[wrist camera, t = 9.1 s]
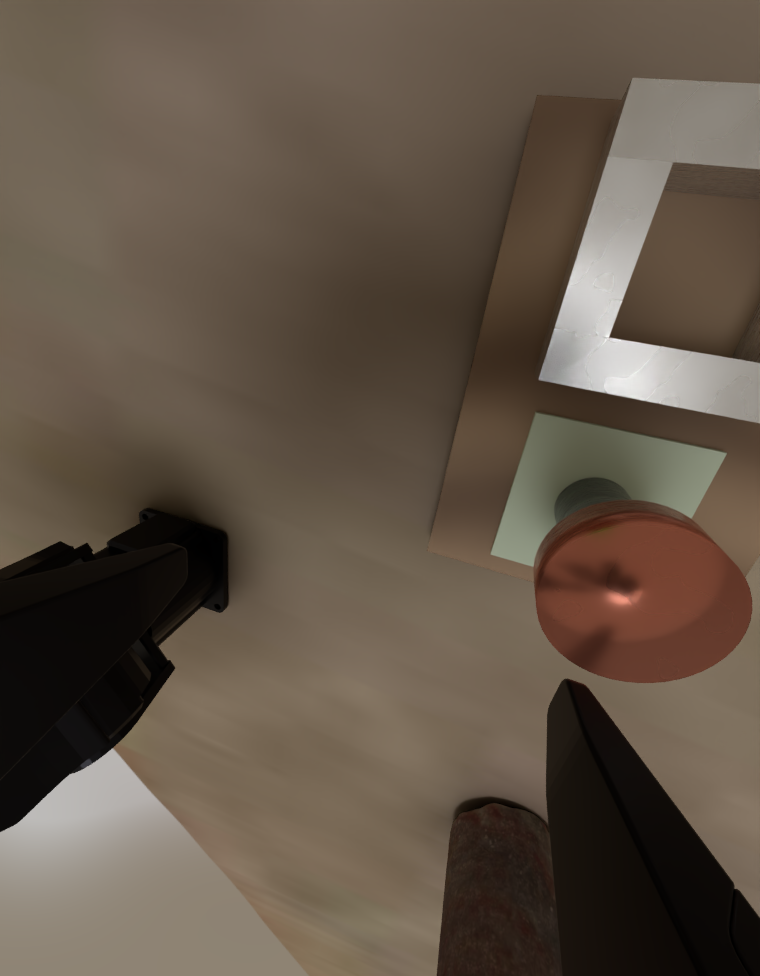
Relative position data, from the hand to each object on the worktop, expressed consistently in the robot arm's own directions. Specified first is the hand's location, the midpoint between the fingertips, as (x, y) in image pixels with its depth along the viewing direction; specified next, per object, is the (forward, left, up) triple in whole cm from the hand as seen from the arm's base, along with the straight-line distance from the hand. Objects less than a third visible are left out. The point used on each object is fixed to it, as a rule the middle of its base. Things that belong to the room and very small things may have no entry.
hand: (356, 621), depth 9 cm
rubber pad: (0, -7, -11) cm, 13 cm away
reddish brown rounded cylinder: (0, -7, -11) cm, 13 cm away
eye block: (+9, -7, -11) cm, 16 cm away
